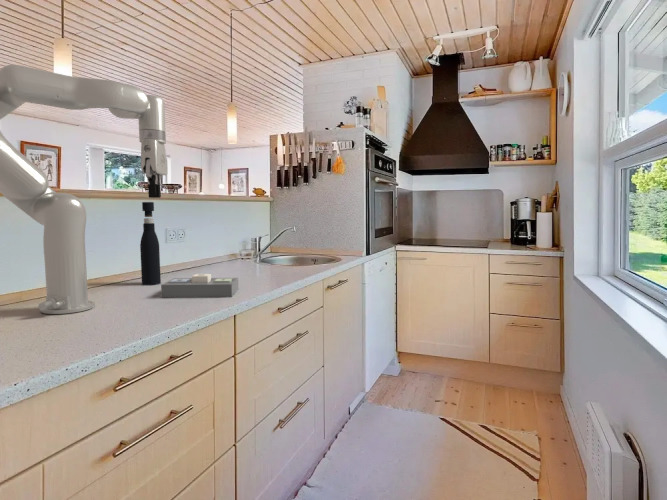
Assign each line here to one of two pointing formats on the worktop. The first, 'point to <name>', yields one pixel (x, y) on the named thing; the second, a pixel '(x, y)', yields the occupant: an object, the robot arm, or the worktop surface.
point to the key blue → (180, 281)
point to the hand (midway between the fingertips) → (154, 197)
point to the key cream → (201, 278)
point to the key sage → (223, 280)
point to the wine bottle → (149, 249)
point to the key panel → (199, 289)
